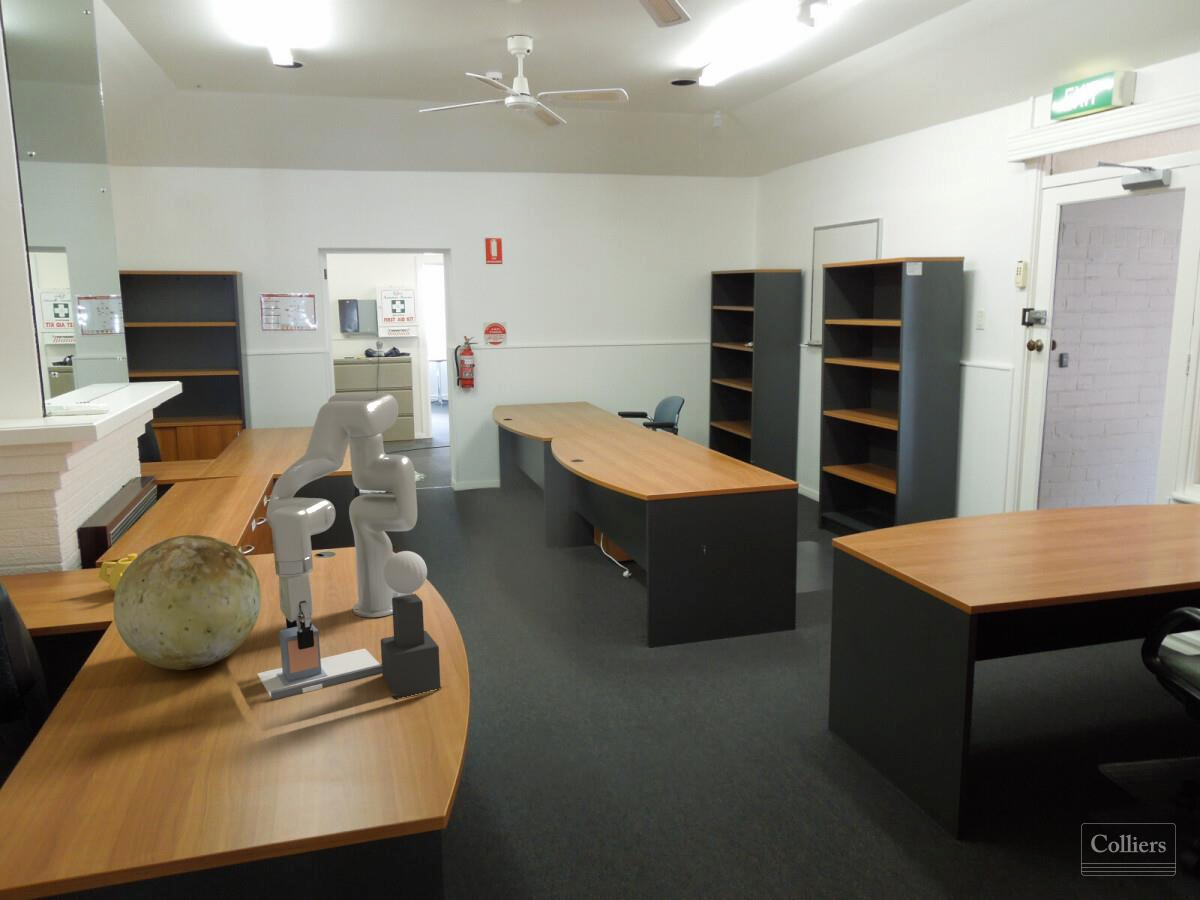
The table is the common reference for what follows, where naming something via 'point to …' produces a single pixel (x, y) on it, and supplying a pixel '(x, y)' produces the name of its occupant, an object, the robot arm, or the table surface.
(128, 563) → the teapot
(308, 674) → the box
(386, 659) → the sculpture
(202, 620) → the speckled stone ball
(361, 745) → the table surface
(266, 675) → the shelf board
